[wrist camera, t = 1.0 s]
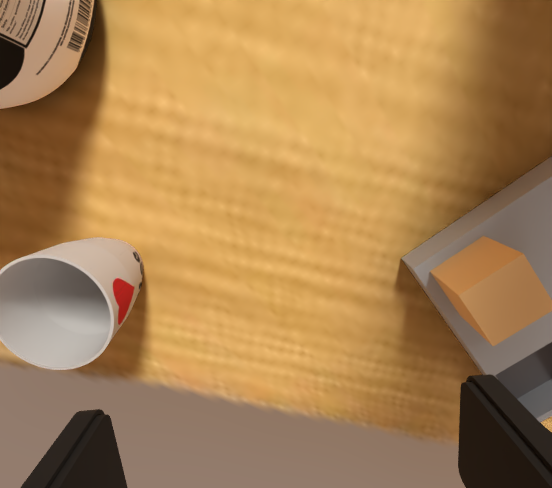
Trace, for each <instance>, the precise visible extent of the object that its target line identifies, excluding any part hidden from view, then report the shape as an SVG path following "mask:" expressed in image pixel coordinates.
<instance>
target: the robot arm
mask: <svg viewBox="0 0 552 488" xmlns="http://www.w3.org/2000/svg"><path fill="white" fill-rule="evenodd" d="M458 468H459V473H460V476H461V479H462V481H463V483H464V485H465V487H466V488H552V433H551V432H550V431H549V430H548V429H547V428H545V427H544V426H543V425H542V424H541V423H540V422H539V421H538V420H537V419H536V418H535V417H534V416H533V415H532V414H531V413H530V412H529V411H528V410H527V409H526V408H525V407H524V406H523V405H522V404H521V403H520V401H519V400H518V399H517V398H516V397H515V396H514V395H513V394H512V393H511V392H510V391H509V390H508V389H507V388H506V387H505V386H504V385H503V384H502V383H501V382H500V381H499V380H498V379H497V378H496V377H495V376H494V375H491V374H488V375H477V376H469V377H468V378H467V381H466V382H465V383H462V384H461V393H460V424H459V457H458ZM21 488H127V484H126V480H125V475H124V471H123V467H122V463H121V459H120V455H119V451H118V447H117V443H116V439H115V435H114V430H113V426H112V422H111V418H110V416H109V415H105V414H104V412H103V411H102V410H99V409H98V410H87V411H79V412H77V413H76V414H75V415H74V416H73V418H72V419H71V420H70V422H69V423H68V424H67V426H66V427H65V429H64V430H63V431H62V432H61V434H60V435H59V437H58V438H57V439H56V441H55V442H54V443H53V445H52V446H51V447H50V449H49V450H48V451H47V453H46V454H45V455H44V457H43V458H42V459H41V461H40V462H39V464H38V465H37V466H36V467H35V469H34V470H33V472H32V473H31V474H30V476H29V477H28V478H27V480H26V481H25V482H24V484H23V485H22V487H21Z"/></svg>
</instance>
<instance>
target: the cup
mask: <svg viewBox="0 0 552 488" xmlns="http://www.w3.org/2000/svg"><path fill="white" fill-rule="evenodd" d="M142 277H143V262H142V259H141V256H140V255H139V253H138V252H137V250H136V249H135V248H134V247H133V246H131V245H130V244H128V243H127V242H125V241H122V240H118V239H110V238H100V237H96V238H89V239H83V240H77V241H71V242H66V243H61V244H58V245H55V246H53V247H50V248H47V249H44V250H41V251H38V252H36V253H33V254H30V255H27V256H24V257H21V258H19V259H16V260H14V261H12V262H10V263H9V264H7V265H6V266H4V267H3V268H2V269H1V270H0V340H1V342H2V343H3V344H4V345H5V346H6V347H7V348H8V349H9V350H10V351H11V352H13V353H14V354H15V355H16V356H18V357H19V358H21V359H23V360H24V361H26V362H28V363H31V364H33V365H36V366H39V367H42V368H47V369H53V370H68V369H74V368H78V367H81V366H84V365H86V364H88V363H90V362H92V361H93V360H95V359H96V358H97V357H98V356H99V355H100V354H101V353H102V352H103V351H104V350H105V349H106V347H107V346H108V344H109V343H110V341H111V340H112V338H113V337H114V336H115V334H116V333H117V331H118V330H119V328H120V327H121V326H122V324H123V323H124V321H125V320H126V318H127V317H128V315H129V313H130V311H131V309H132V307H133V305H134V302H135V300H136V298H137V296H138V294H139V291H140V289H141V285H142Z"/></svg>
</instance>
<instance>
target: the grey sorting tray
mask: <svg viewBox="0 0 552 488" xmlns="http://www.w3.org/2000/svg"><path fill="white" fill-rule="evenodd" d="M482 236H485V237H488V238H490V239H492V240H494V241H497V242H499V243H501V244H503V245H506V246H508V247H510V248H512V249H514V250H517V251H519V252H521V253H523V254H524V255H525V257H526V258H527V260H528V262H529V263H530V265H531V267H532V268H533V270H534V272H535V273H536V275H537V277H538V278H539V280H540V281H541V283H542V285H543V286H544V288H545V290H546V291H547V293H548V295H549V296H550V298H551V300H552V156H551V157H550V158H548V159H547V160H545V161H544V162H542V163H541V164H539V165H538V166H536V167H535V168H533V169H532V170H530V171H529V172H527V173H526V174H524V175H523V176H521V177H520V178H519V179H517V180H516V181H514V182H513V183H511V184H510V185H508V186H507V187H505V188H504V189H502V190H501V191H499V192H498V193H496V194H495V195H493V196H492V197H490V198H489V199H488V200H486V201H485V202H483V203H482V204H480V205H479V206H477V207H476V208H474V209H473V210H471V211H470V212H468V213H467V214H465V215H464V216H462V217H461V218H459V219H458V220H457V221H455V222H454V223H452V224H451V225H449V226H448V227H446V228H445V229H443V230H442V231H440V232H439V233H437V234H436V235H434V236H433V237H431V238H430V239H428V240H427V241H426V242H424V243H423V244H421V245H420V246H418V247H417V248H415V249H414V250H412V251H411V252H409V253H408V254H406V255H405V256H403V257H402V258H401V259H402V260H403V261H404V263H405V264H406V266H407V267H408V269H409V270H410V272H411V273H412V274H413V276H414V277H415V279H416V280H417V282H418V283H419V284H420V286H421V287H422V289H423V290H424V292H425V293H426V294H427V296H428V297H429V299H430V300H431V302H432V303H433V304H434V306H435V307H436V309H437V310H438V312H439V313H440V314H441V316H442V317H443V319H444V320H445V322H446V323H447V324H448V326H449V327H450V329H451V330H452V332H453V333H454V334H455V336H456V337H457V339H458V340H459V342H460V343H461V344H462V346H463V347H464V349H465V350H466V352H467V353H468V354H469V356H470V357H471V359H472V360H473V362H474V363H475V364H476V366H477V367H478V369H479V370H480V372H481V373H482V374H483V375H488V374H491V375H494V376H495V377H496V378H497V379H498V380H499V381H500V382H501V383H502V384H503V385H504V386H505V387H506V388H507V389H508V390H509V391H510V392H511V393H512V394H513V395H514V396H515V397H516V398H517V399H518V400H519V401H520V403H521V404H522V405H523V406H524V407H525V408H526V409H527V410H528V411H529V412H530V413H531V414H532V415H533V416H534V417H535V418H536V419H537V420H538V421H539V422H542V421H544V420H545V419H547V418H549V417H551V416H552V311H551V312H549V313H548V314H546V315H545V316H543V317H541V318H540V319H538V320H536V321H535V322H533V323H531V324H530V325H528V326H526V327H525V328H523V329H521V330H520V331H518V332H516V333H515V334H513V335H511V336H510V337H508V338H507V339H505V340H503V341H502V342H500V343H498V344H497V345H495V346H492V345H491V344H490V343H489V342H488V341H487V340H486V339H485V338H483V337H482V336H481V335H480V334H479V333H478V332H477V331H476V330H475V329H474V328H473V327H472V326H471V325H470V324H469V323H468V322H466V321H465V320H464V319H463V318H462V317H461V316H460V315H459V313H458V312H457V310H456V309H455V307H454V306H453V304H452V303H451V302H450V300H449V299H448V297H447V296H446V294H445V293H444V291H443V290H442V288H441V287H440V285H439V284H438V283H437V281H436V280H435V278H434V277H433V275H432V274H431V272H430V271H431V270H432V269H434V268H435V267H437V266H438V265H440V264H441V263H443V262H444V261H446V260H447V259H449V258H450V257H452V256H454V255H455V254H457V253H458V252H460V251H461V250H463V249H464V248H466V247H467V246H469V245H470V244H472V243H473V242H475V241H476V240H478V239H479V238H481V237H482Z"/></svg>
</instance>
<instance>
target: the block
mask: <svg viewBox="0 0 552 488" xmlns="http://www.w3.org/2000/svg"><path fill="white" fill-rule="evenodd" d="M430 272H431V274H432V275H433V277H434V278H435V280H436V281H437V283H438V284H439V285H440V287H441V288H442V290H443V291H444V293H445V294H446V296H447V297H448V299H449V300H450V302H451V303H452V304H453V306H454V307H455V309H456V310H457V312H458V313H459V315H460V316H461V317H462V318H463V319H464V320H465V321H466V322H468V323H469V324H470V325H471V326H472V327H473V328H474V329H475V330H476V331H477V332H478V333H479V334H480V335H481V336H482V337H483V338H485V339H486V340H487V341H488V342H489V343H490V344H491V345H492V346H495V345H497V344H498V343H500V342H502V341H503V340H505V339H507V338H508V337H510V336H511V335H513V334H515V333H516V332H518V331H520V330H521V329H523V328H525V327H526V326H528V325H530V324H531V323H533V322H535V321H536V320H538V319H540V318H541V317H543V316H545V315H546V314H548V313H549V312H551V311H552V300H551V298H550V296H549V295H548V293H547V291H546V290H545V288H544V286H543V285H542V283H541V281H540V280H539V278H538V277H537V275H536V273H535V272H534V270H533V268H532V267H531V265H530V263H529V262H528V260H527V258H526V257H525V255H524V254H523V253H521V252H519V251H517V250H514V249H512V248H510V247H508V246H506V245H503V244H501V243H499V242H497V241H494V240H492V239H490V238H488V237H485V236H482V237H481V238H479V239H478V240H476V241H475V242H473V243H472V244H470V245H469V246H467V247H466V248H464V249H463V250H461V251H460V252H458V253H457V254H455V255H454V256H452V257H450V258H449V259H447V260H446V261H444V262H443V263H441V264H440V265H438V266H437V267H435V268H434V269H432V270H431V271H430Z"/></svg>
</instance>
